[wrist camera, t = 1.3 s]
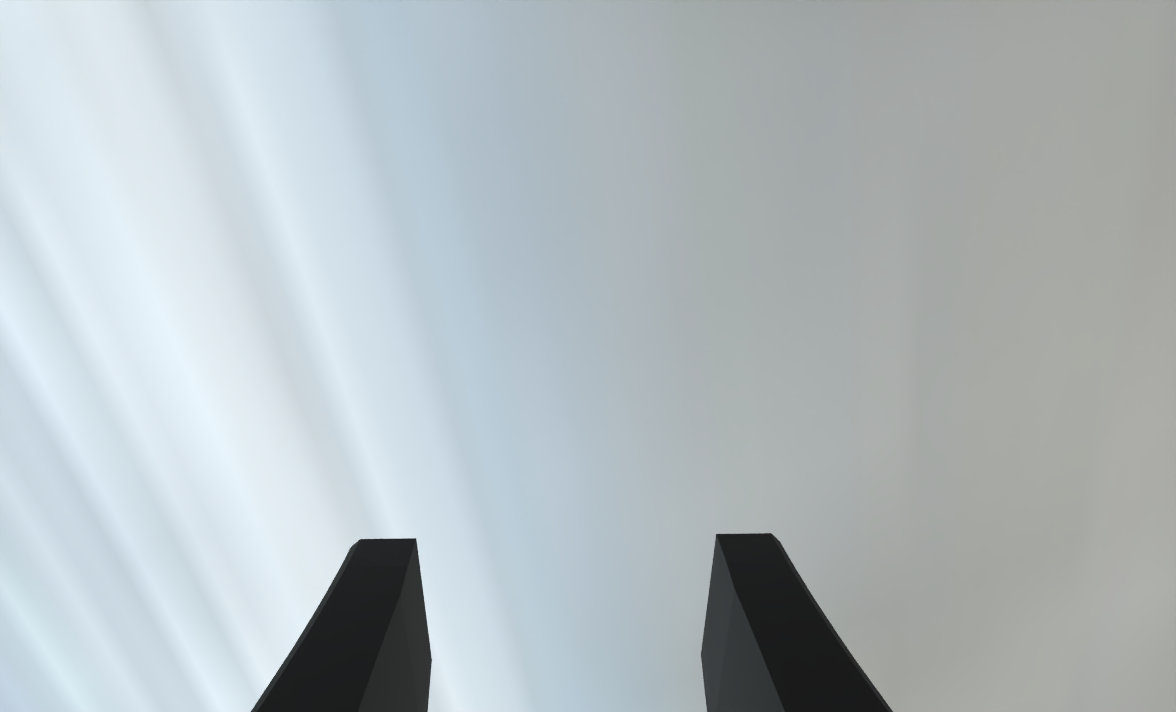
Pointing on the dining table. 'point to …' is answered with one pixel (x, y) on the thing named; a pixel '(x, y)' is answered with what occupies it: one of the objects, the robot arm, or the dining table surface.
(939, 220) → the dining table surface
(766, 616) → the robot arm
